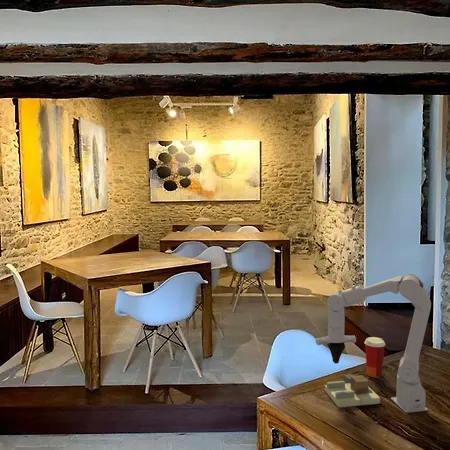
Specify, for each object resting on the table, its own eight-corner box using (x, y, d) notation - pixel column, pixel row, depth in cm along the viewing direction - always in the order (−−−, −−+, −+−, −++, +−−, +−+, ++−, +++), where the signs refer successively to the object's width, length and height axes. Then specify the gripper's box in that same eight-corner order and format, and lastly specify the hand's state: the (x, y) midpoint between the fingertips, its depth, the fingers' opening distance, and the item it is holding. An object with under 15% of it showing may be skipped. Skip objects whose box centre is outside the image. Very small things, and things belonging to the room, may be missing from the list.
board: (380, 403, 149) (380, 392, 149) (338, 407, 147) (338, 396, 147) (363, 387, 161) (363, 376, 161) (324, 390, 159) (324, 380, 158)
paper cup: (381, 370, 175) (382, 336, 173) (386, 379, 167) (387, 344, 166) (361, 370, 176) (362, 336, 174) (365, 378, 168) (366, 343, 167)
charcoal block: (357, 386, 162) (357, 377, 162) (349, 388, 161) (349, 379, 160) (350, 382, 165) (351, 373, 165) (343, 384, 164) (343, 375, 163)
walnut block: (368, 393, 152) (368, 380, 152) (356, 394, 152) (356, 381, 151) (362, 387, 157) (362, 375, 156) (350, 388, 156) (350, 376, 156)
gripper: (350, 321, 162) (349, 356, 163) (313, 323, 160) (312, 359, 161) (359, 327, 155) (358, 364, 156) (320, 330, 153) (319, 367, 154)
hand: (335, 362), depth 158 cm, fingers closed
